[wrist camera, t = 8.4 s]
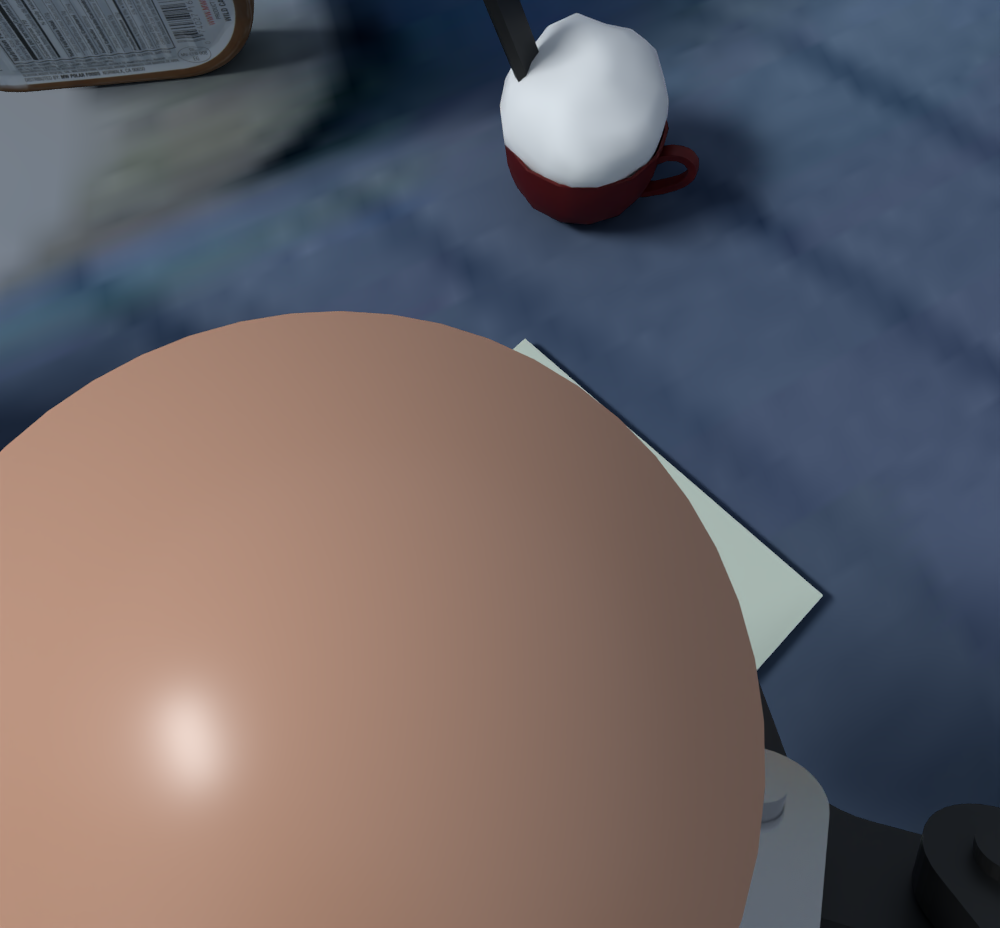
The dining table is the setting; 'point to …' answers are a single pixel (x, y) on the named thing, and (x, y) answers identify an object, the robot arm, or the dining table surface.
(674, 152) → the cocoa
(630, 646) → the mushroom
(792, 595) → the pad
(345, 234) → the dining table surface
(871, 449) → the dining table surface
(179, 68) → the tin
